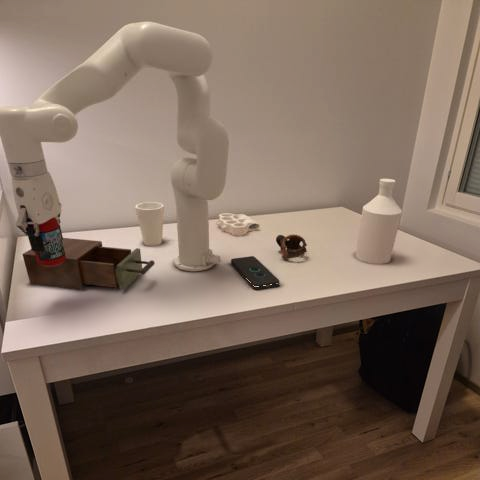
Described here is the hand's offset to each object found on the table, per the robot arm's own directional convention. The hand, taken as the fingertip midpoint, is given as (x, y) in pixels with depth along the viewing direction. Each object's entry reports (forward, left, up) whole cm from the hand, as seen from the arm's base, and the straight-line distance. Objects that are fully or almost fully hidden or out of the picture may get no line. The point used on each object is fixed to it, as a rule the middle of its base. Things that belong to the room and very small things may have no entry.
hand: (48, 244), depth 102 cm
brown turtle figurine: (-47, -55, -16) cm, 74 cm away
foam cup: (+1, -47, -16) cm, 50 cm away
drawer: (-6, -16, -15) cm, 23 cm away
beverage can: (0, 0, -5) cm, 5 cm away
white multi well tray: (-20, -74, -16) cm, 79 cm away
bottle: (-73, -65, -16) cm, 99 cm away
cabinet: (+9, -13, -16) cm, 23 cm away
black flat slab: (-41, -36, -16) cm, 57 cm away
